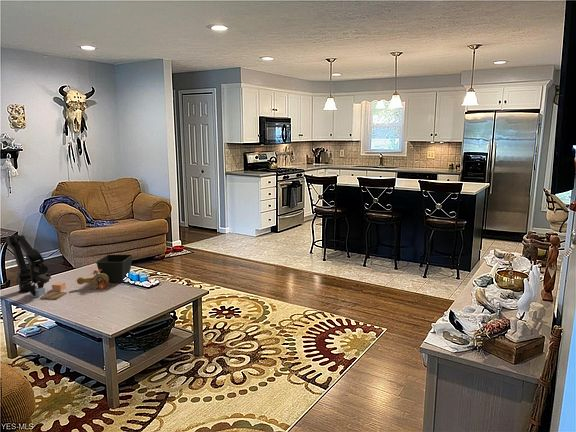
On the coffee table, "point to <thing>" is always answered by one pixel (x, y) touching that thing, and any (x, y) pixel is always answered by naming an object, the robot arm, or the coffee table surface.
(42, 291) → the slate-blue block
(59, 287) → the terracotta block
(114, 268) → the flower pot
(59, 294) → the walnut base plate
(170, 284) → the coffee table surface
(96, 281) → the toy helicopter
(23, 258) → the robot arm
